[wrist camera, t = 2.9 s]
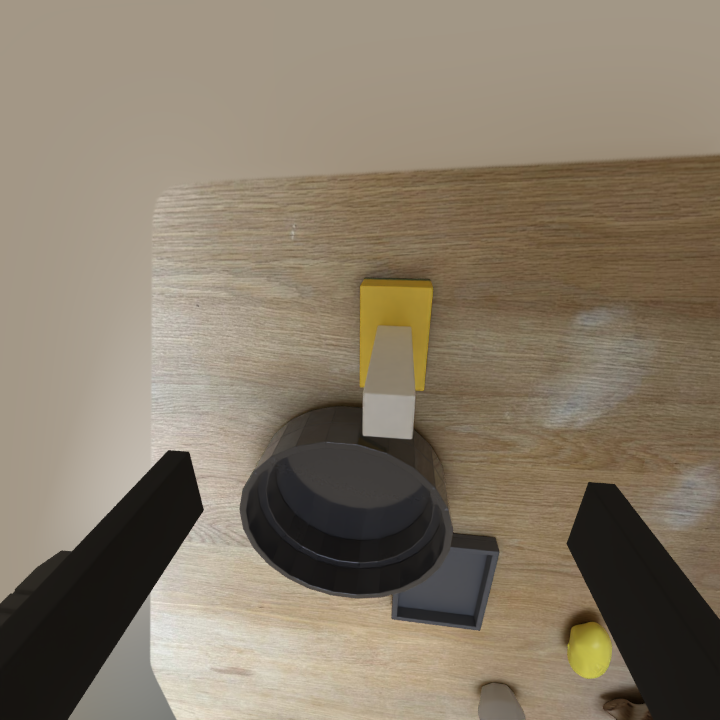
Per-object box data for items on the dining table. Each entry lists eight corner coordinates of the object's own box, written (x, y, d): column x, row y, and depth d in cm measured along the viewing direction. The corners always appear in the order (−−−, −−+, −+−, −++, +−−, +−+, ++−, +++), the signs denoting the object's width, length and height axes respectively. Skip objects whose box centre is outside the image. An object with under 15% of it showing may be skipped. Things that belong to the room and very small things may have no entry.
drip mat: (397, 527, 37) (396, 541, 35) (495, 537, 36) (499, 552, 34) (391, 604, 42) (391, 619, 41) (477, 614, 41) (480, 630, 39)
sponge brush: (364, 277, 26) (332, 333, 15) (430, 279, 26) (452, 338, 14) (363, 370, 30) (337, 478, 18) (422, 374, 29) (434, 487, 17)
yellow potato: (553, 647, 42) (567, 687, 38) (572, 606, 38) (589, 647, 35) (589, 652, 41) (607, 694, 38) (612, 612, 38) (633, 653, 35)
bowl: (483, 490, 33) (498, 546, 28) (352, 564, 40) (345, 620, 34) (351, 363, 29) (339, 399, 24) (231, 468, 36) (200, 515, 31)
